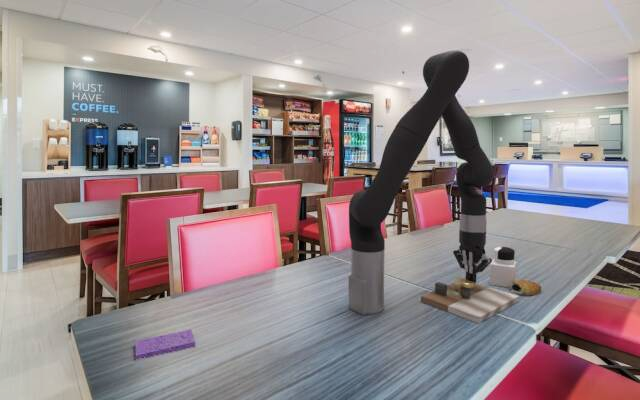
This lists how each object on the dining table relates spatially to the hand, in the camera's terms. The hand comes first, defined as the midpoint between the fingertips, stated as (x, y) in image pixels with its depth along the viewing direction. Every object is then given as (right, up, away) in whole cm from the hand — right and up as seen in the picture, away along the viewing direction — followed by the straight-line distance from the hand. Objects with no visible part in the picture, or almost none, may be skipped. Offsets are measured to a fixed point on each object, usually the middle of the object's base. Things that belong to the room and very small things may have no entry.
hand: (470, 283), depth 114 cm
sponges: (-82, -9, -28) cm, 87 cm away
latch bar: (-4, -2, -4) cm, 5 cm away
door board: (-3, -4, -6) cm, 7 cm away
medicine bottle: (+14, -2, +9) cm, 17 cm away
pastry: (+17, -3, +2) cm, 18 cm away
